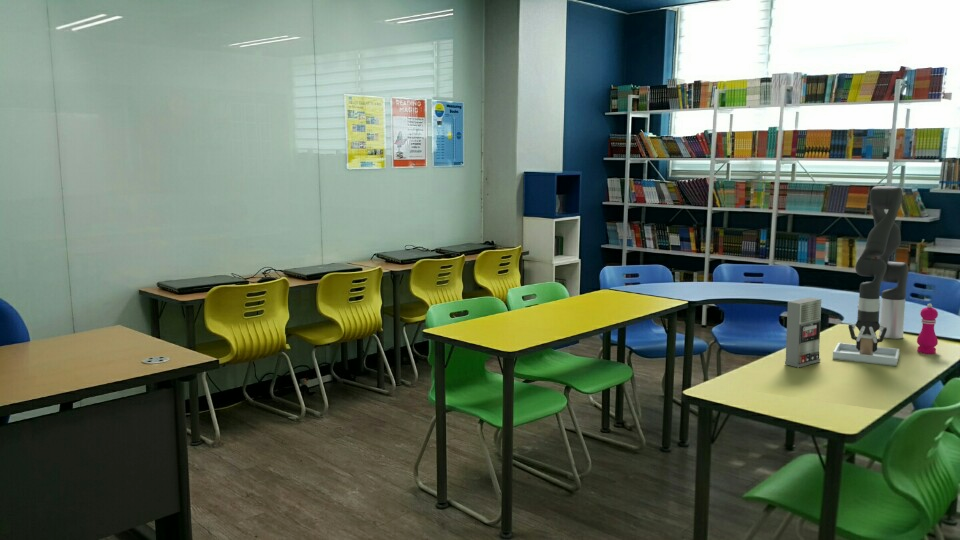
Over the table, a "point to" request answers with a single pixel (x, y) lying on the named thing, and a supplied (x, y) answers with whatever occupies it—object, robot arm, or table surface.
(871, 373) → the table surface
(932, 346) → the pepper mill
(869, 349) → the shaker
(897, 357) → the tray
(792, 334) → the cassette tape recorder
